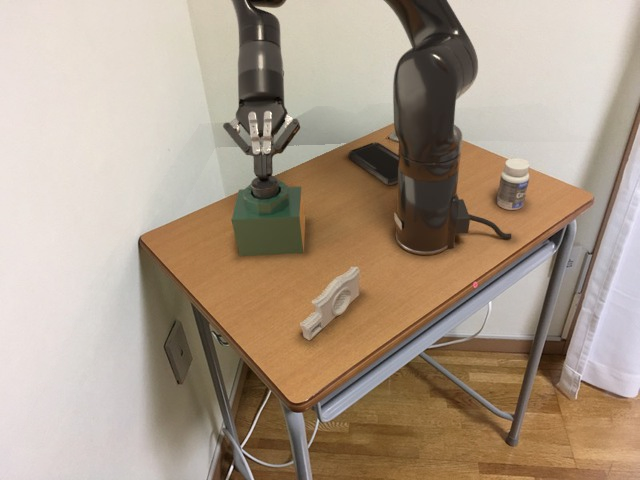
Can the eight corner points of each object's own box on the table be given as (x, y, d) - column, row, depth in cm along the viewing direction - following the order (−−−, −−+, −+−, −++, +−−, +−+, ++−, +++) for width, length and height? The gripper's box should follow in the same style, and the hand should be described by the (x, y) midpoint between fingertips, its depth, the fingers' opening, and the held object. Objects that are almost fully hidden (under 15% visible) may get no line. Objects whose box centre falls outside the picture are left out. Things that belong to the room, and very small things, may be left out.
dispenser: (305, 221, 95) (300, 174, 88) (303, 253, 88) (298, 204, 81) (245, 224, 95) (236, 178, 89) (239, 256, 88) (228, 208, 82)
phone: (376, 141, 114) (420, 169, 104) (376, 145, 115) (420, 173, 105) (346, 152, 111) (388, 181, 101) (346, 156, 112) (388, 186, 102)
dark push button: (280, 187, 87) (278, 174, 86) (278, 201, 84) (276, 188, 82) (254, 188, 88) (252, 175, 86) (251, 203, 84) (249, 190, 83)
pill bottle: (517, 213, 92) (526, 173, 87) (492, 206, 94) (498, 165, 89) (527, 201, 95) (536, 160, 90) (502, 193, 97) (509, 154, 92)
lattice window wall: (309, 343, 72) (306, 314, 68) (300, 337, 73) (296, 308, 69) (362, 295, 79) (361, 265, 75) (352, 290, 80) (351, 261, 76)
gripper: (215, 69, 83) (217, 175, 80) (298, 63, 82) (302, 171, 80) (226, 88, 90) (228, 186, 88) (302, 83, 89) (306, 182, 87)
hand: (263, 178), depth 84 cm, fingers closed
